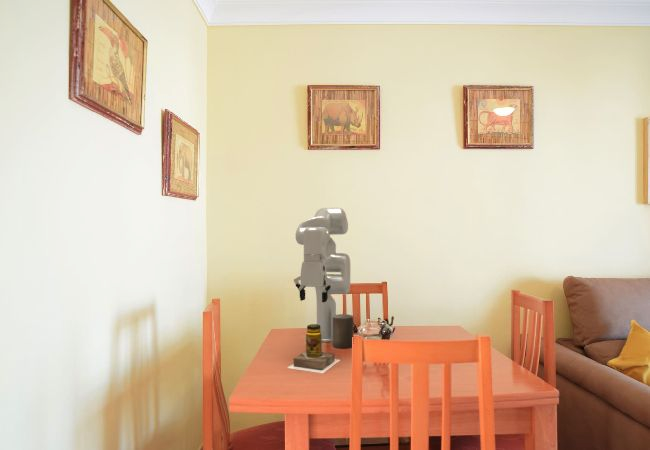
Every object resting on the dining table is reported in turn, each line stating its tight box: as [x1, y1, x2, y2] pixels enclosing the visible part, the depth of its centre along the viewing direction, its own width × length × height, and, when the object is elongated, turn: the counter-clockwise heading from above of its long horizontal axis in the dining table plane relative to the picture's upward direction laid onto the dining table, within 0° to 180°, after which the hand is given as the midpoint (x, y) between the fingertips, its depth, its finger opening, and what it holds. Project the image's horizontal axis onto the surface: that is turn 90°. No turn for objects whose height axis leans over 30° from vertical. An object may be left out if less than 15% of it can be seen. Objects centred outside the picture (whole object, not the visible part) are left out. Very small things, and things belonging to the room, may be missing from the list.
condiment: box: [301, 323, 326, 359], centre depth 161 cm, size 7×8×12 cm
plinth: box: [293, 351, 336, 370], centre depth 160 cm, size 12×12×3 cm
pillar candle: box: [332, 313, 354, 349], centre depth 188 cm, size 10×10×15 cm
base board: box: [287, 358, 341, 374], centre depth 159 cm, size 17×15×1 cm
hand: (313, 300), depth 164 cm, fingers open, 9 cm apart
